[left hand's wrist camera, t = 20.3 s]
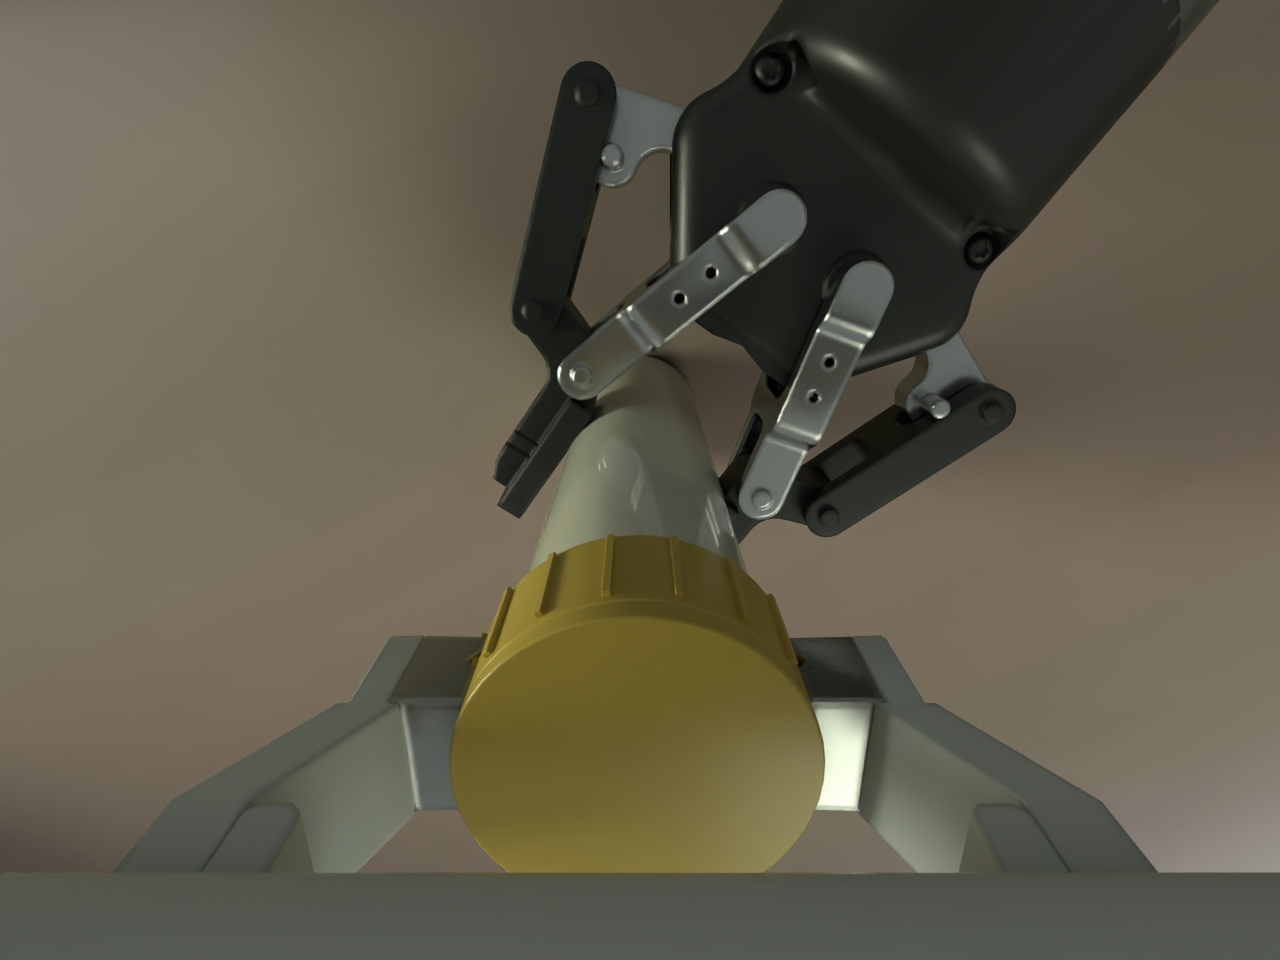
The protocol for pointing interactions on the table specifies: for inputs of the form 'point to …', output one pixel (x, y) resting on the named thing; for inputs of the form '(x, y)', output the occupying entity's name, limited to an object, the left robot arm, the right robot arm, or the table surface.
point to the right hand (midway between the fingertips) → (584, 543)
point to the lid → (637, 718)
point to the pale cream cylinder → (640, 471)
